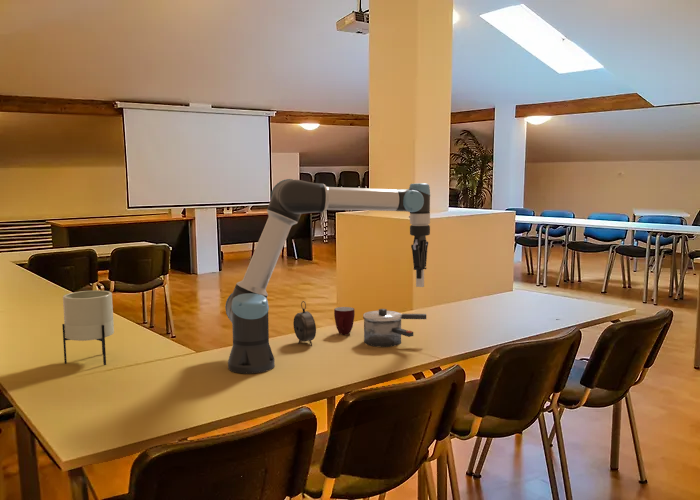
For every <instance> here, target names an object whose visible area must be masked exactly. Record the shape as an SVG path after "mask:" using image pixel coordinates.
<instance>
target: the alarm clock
mask: <svg viewBox="0 0 700 500" xmlns="http://www.w3.org/2000/svg"><path fill="white" fill-rule="evenodd" d="M303 303H304V305H305V306H304V308H303ZM300 306H301V309H302V311H300V312H297V313H296V314H295V315H294V318H293V331H294V333H295V336H296V337H297V339H298V343H297V344H298V345H299V344H300V342H303V343H305V342H309V344H310V346H312V347H313V343H312V341H313V340H314V339H315V337H316V335H317V326H316V321H315V319H314V316H313V315H312V313H311V312H310V311H307V310H306V309H307V304H306V301H304V300H302V301H301V304H300ZM305 310H306V311H305Z"/></svg>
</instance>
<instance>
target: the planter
mask: <svg viewBox="0 0 700 500" xmlns="http://www.w3.org/2000/svg"><path fill="white" fill-rule="evenodd" d="M62 302H63V303H62V305H63V321H64V323H62V340H63V342H62V343H63V357H64V358H63V359H64V361H63V362H64V364H65V365H66V364H67V363H68V362H67V361H68V360H67V346H66V345H67V344H66V341H79V342H80V341H82V342H84V341H94V340H96V341H99V342H101V350H102V351H101V352H102V360H103V366H106V365H107V357H106V356H107V355H106V351H107V350H106V340H105V339H106V338H108V337H111V336H112V335H113V334H114V333H115V328H114V325H115V324H114V310H113V309H114V305H113V303H114V302H113V292H111V291H109V290H99V289H98V290H97V289H95V290H94V289H93V290H83V291H75V292H70V293H65V294H64V295H63V296H62Z"/></svg>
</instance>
